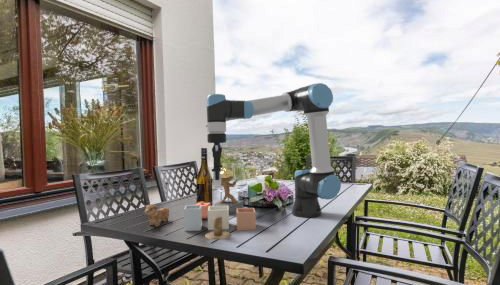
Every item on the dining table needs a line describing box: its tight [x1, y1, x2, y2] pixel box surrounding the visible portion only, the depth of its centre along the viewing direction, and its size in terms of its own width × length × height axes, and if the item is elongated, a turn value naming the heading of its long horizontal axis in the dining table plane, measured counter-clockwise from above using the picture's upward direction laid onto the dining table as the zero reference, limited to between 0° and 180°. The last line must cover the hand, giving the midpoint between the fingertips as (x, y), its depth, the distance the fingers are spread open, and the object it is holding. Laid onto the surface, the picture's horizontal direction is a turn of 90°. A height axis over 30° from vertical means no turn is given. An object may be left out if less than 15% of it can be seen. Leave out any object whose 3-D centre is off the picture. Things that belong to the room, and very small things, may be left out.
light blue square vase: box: [183, 204, 203, 232], centre depth 132 cm, size 7×7×10 cm
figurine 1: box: [143, 204, 170, 227], centre depth 142 cm, size 7×16×10 cm, turn 158°
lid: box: [204, 216, 232, 241], centre depth 122 cm, size 10×10×8 cm
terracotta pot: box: [235, 207, 257, 231], centre depth 133 cm, size 8×8×8 cm
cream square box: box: [207, 205, 230, 231], centre depth 134 cm, size 9×9×9 cm
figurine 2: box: [214, 166, 244, 216], centre depth 160 cm, size 14×11×25 cm
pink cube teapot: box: [194, 201, 212, 219], centre depth 151 cm, size 8×12×8 cm, turn 83°
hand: (217, 185), depth 122 cm, fingers open, 13 cm apart
